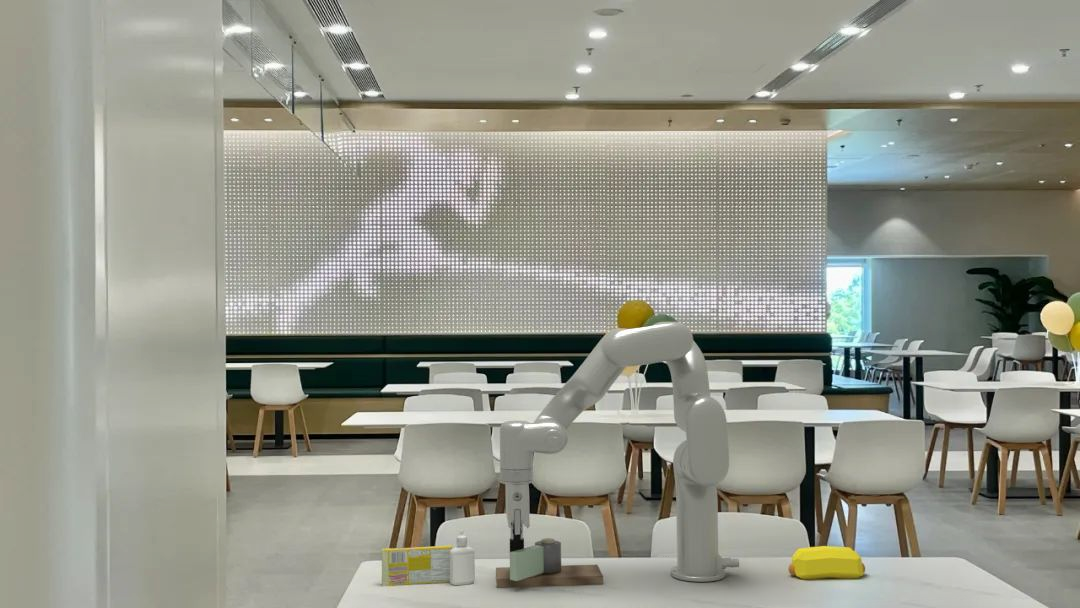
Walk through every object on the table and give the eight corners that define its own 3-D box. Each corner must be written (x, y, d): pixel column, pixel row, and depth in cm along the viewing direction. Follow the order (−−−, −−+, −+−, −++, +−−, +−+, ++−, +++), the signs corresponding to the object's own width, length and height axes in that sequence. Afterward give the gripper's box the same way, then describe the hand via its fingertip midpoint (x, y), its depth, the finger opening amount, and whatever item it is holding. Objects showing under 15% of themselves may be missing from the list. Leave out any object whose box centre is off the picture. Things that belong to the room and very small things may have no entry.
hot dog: (871, 580, 217) (859, 571, 224) (871, 550, 217) (859, 543, 225) (793, 582, 216) (783, 573, 224) (792, 552, 217) (783, 544, 224)
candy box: (452, 580, 221) (452, 544, 221) (453, 583, 219) (452, 547, 219) (382, 584, 219) (381, 547, 219) (381, 586, 217) (381, 550, 217)
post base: (597, 572, 226) (597, 563, 226) (602, 584, 216) (602, 574, 216) (496, 576, 224) (495, 566, 224) (496, 587, 214) (496, 577, 214)
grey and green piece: (546, 565, 224) (546, 535, 224) (566, 569, 220) (566, 539, 220) (503, 579, 213) (503, 547, 213) (523, 583, 209) (523, 551, 209)
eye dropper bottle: (472, 586, 216) (471, 532, 216) (448, 585, 217) (447, 532, 217) (476, 580, 220) (475, 528, 221) (452, 580, 221) (451, 528, 221)
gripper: (534, 480, 210) (535, 564, 209) (531, 470, 225) (531, 548, 224) (500, 481, 209) (500, 565, 209) (499, 470, 224) (499, 549, 224)
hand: (516, 556), depth 216 cm, fingers closed
